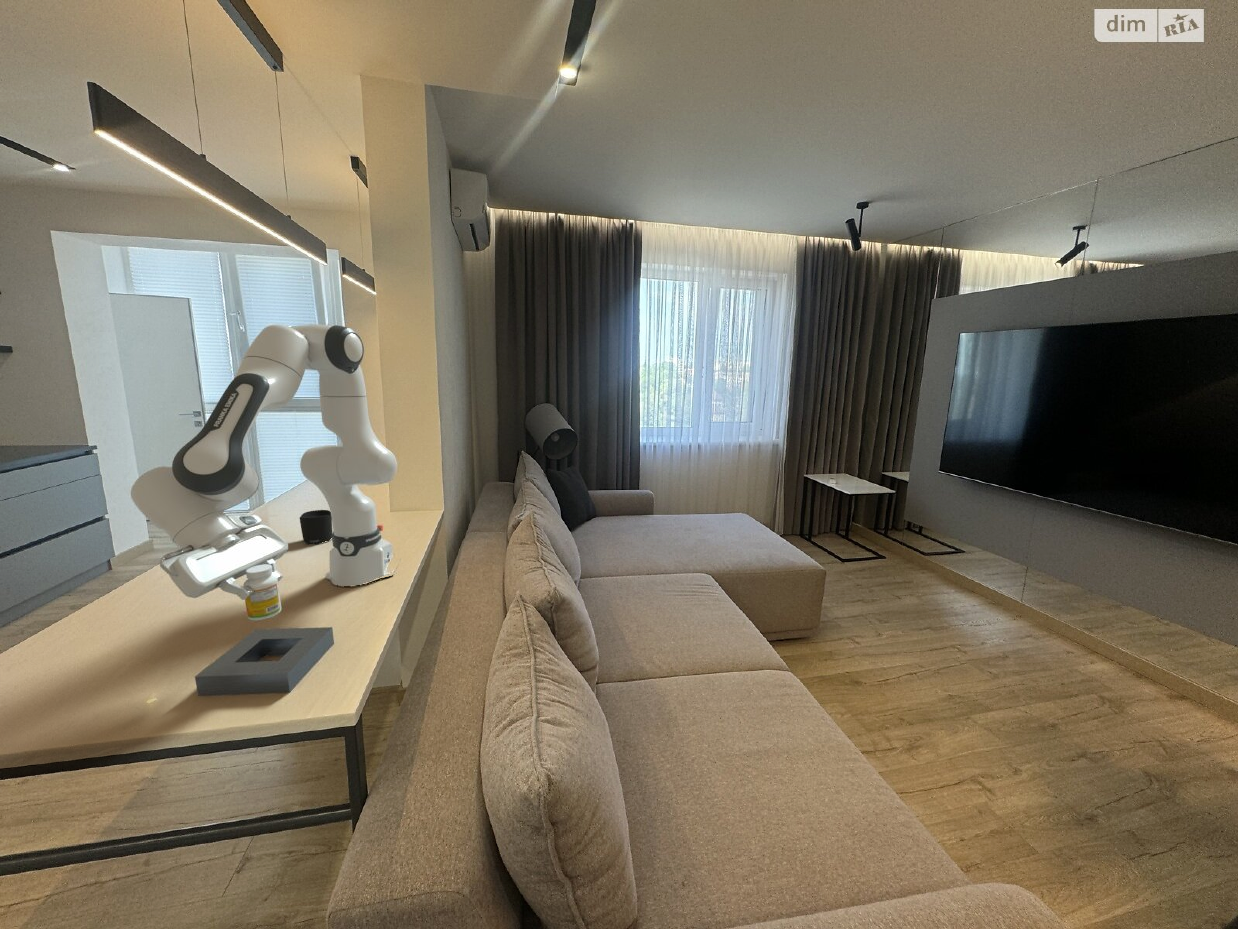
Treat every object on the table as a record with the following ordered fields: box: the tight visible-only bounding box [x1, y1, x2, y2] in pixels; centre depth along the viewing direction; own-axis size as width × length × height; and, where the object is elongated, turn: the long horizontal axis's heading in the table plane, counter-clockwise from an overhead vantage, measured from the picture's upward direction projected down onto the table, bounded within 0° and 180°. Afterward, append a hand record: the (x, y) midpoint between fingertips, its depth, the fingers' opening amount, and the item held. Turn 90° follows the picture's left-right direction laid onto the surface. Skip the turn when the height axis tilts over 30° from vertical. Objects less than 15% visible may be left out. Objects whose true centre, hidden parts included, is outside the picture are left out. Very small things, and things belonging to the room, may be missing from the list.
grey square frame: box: [194, 626, 335, 697], centre depth 93 cm, size 16×16×4 cm
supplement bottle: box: [242, 564, 282, 621], centre depth 90 cm, size 5×5×10 cm
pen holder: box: [299, 509, 333, 545], centre depth 162 cm, size 9×9×10 cm
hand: (264, 588), depth 90 cm, fingers closed on supplement bottle, 5 cm apart
